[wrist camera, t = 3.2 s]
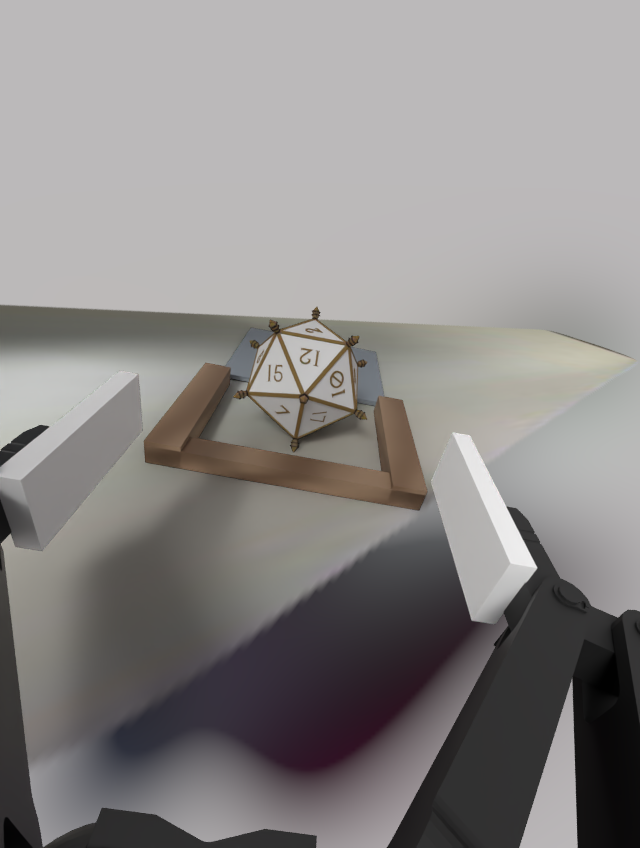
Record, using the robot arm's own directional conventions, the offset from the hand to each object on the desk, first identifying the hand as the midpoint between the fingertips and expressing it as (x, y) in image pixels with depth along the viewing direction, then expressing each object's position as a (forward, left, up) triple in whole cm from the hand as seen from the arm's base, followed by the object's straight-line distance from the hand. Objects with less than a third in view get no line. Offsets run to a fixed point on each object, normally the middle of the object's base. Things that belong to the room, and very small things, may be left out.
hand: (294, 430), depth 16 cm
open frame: (0, +9, -6) cm, 11 cm away
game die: (0, +10, -6) cm, 12 cm away
